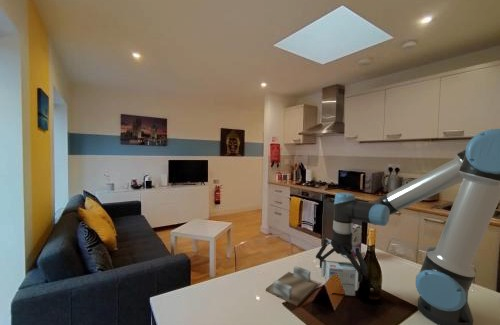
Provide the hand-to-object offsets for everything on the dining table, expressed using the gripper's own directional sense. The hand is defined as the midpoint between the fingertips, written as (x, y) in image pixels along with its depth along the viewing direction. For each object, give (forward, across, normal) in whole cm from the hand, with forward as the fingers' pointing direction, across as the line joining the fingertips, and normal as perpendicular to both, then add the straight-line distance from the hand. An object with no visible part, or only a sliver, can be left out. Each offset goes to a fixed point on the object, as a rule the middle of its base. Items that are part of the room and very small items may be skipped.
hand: (339, 282), depth 96 cm
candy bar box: (+4, +7, -39) cm, 40 cm away
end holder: (+3, +15, +12) cm, 19 cm away
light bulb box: (+4, 0, 0) cm, 4 cm away
